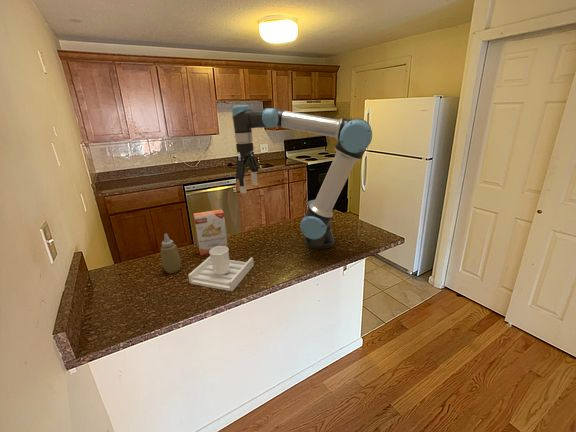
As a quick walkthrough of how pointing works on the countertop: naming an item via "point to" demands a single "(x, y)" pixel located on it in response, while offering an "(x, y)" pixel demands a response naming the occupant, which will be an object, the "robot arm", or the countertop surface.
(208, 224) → the cracker box
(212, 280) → the drying rack
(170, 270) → the squeeze bottle
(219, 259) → the white cup
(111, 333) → the countertop surface
